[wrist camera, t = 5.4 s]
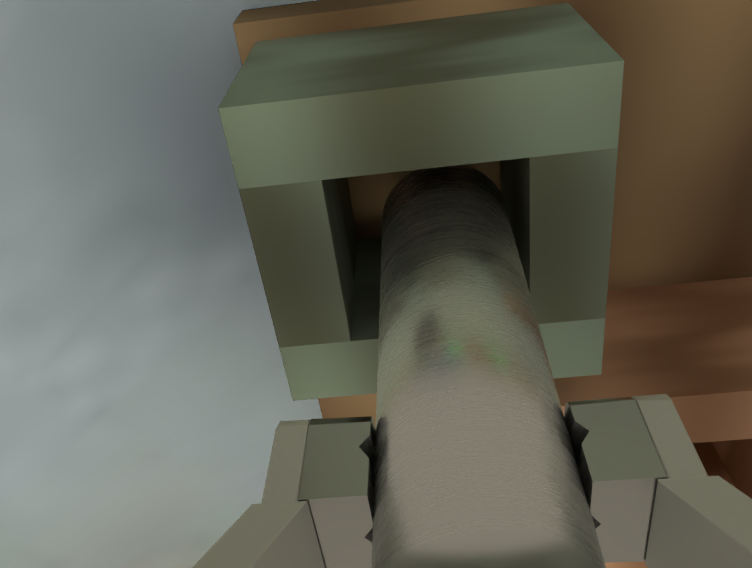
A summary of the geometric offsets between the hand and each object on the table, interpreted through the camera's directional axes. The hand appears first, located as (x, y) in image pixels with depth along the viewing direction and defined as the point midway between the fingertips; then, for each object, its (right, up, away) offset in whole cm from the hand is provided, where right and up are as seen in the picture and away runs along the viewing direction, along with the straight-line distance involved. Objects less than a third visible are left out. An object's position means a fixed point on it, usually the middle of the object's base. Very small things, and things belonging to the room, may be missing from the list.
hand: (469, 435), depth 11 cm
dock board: (+4, +3, +12) cm, 13 cm away
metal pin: (0, +4, +6) cm, 7 cm away
